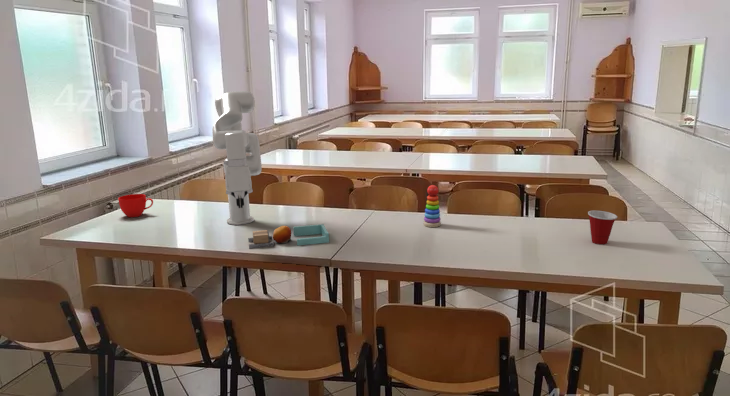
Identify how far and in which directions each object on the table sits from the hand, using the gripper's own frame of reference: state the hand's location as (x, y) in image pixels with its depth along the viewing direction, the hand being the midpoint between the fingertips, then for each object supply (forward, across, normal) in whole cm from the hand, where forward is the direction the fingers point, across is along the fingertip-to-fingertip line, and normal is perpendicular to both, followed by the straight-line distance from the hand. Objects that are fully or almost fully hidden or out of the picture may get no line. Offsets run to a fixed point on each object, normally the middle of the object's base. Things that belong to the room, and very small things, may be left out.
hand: (240, 207), depth 220 cm
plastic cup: (+18, +139, -40) cm, 146 cm away
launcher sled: (+16, +7, +1) cm, 18 cm away
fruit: (+17, +16, +1) cm, 23 cm away
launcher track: (+16, +7, +1) cm, 18 cm away
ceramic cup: (+15, -52, +68) cm, 86 cm away
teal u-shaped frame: (+16, +28, +1) cm, 32 cm away
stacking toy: (+16, +84, +4) cm, 86 cm away
